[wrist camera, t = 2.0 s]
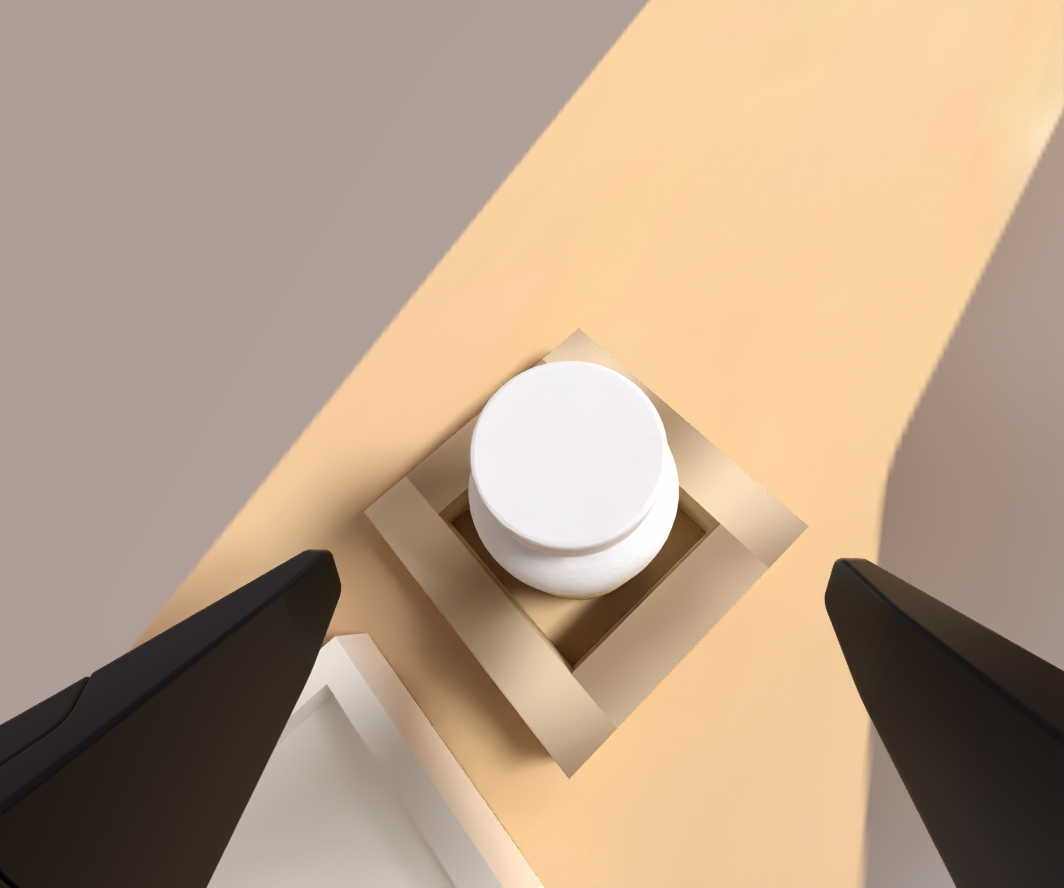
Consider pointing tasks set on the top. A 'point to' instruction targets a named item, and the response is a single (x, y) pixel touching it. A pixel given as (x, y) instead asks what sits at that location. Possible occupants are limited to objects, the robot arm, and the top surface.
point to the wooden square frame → (641, 634)
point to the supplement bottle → (572, 479)
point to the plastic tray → (365, 794)
